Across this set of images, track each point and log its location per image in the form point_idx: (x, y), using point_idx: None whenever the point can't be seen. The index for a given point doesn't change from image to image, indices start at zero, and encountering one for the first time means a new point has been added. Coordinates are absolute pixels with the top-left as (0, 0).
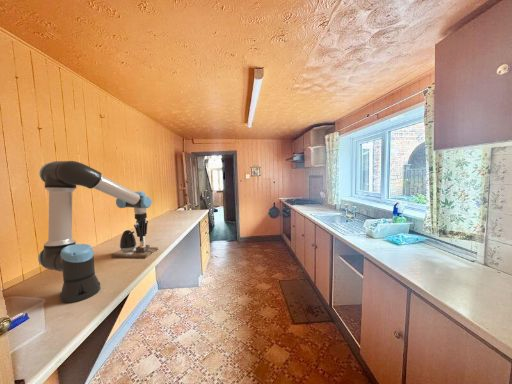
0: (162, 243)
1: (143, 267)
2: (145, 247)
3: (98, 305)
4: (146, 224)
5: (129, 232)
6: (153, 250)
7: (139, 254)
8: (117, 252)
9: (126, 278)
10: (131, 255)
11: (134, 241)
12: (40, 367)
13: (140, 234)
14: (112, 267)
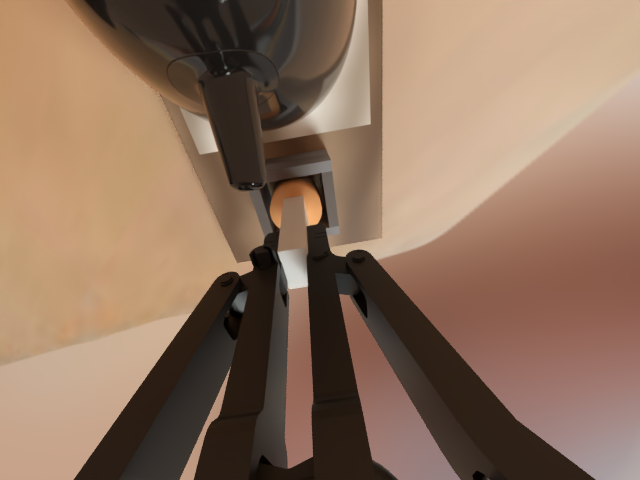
0: (513, 166)
1: (162, 309)
2: None
3: None
4: (447, 451)
5: (176, 66)
6: None
7: (235, 215)
8: None
9: (57, 320)
10: (196, 171)
11: (276, 129)
12: None
13: (230, 334)
14: (31, 165)
